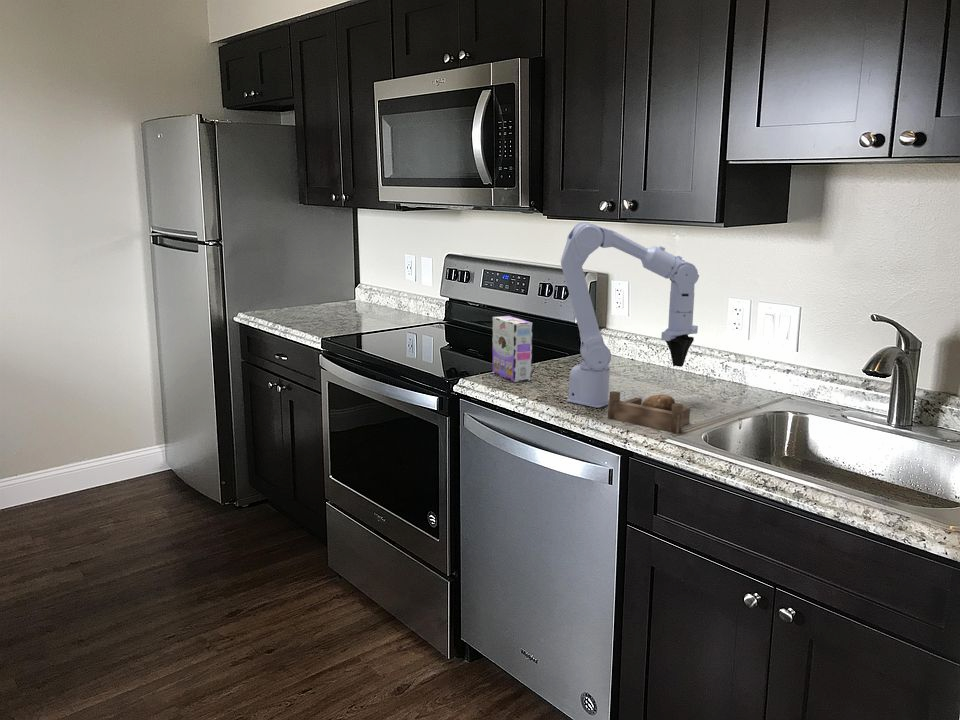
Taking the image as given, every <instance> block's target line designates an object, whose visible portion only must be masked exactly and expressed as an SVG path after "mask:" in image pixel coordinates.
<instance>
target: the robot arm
mask: <svg viewBox="0 0 960 720" xmlns="http://www.w3.org/2000/svg"><path fill="white" fill-rule="evenodd" d="M565 243H566V244H565V245H564V250H563V252H562V255H561V258H560V265H561V269H562V273H563V276H564V280H565V284H566V287H567V290H568V291H567V292H568V294H569V298H570V302H571V306H572V309H573V313H574V315H575V319H576V323H577V327H578V330H579V337H580V338H579V339H580V347H579V348H580V349H579V352H580V356H581V357H582V359H583V360H582V362H581V363H580V364H577V365H576V364H575V365H574V366H572V368H571V370H570V374H569V378H568V379H569V381H568V389H569V390H568V398H567V399H566V402H569V403H573V404H576V405H577V404H578V405H581V406H582V405H583V406H588V407H590V408H591V407H592V408H597V409H599V408H602V407H606V406H608V401H609V395H610V373H611V372H610V370H611V369H610V368H611V366H610V364H611V363H610V362H611V361H612V352H611V350H610V349H609V347H608V346H607V345H606V344H605V341H604V339H603V335H602V333H601V331H600V327H599V325H598V320H597V317H596V313H595V309H594V306H593V302H592V298H591V295H590V291H589V287H588V284H587V280H586V277H585V272H584V268H583V266H584V264H585V262H586V261H587V259H588V258H589V256H590V255H591V254H593V253H594V252H595V251H596V250H597V249H599V248H603V249H607V248H614V249H616V250H619V251H621V252H623V253H625V254H627V255H630V256H631V257H634V258H636V259H638V260H640V261H641V264H642V267H643V268H644V269H645V270H648V271H650V272H651V273H654V274H656V275H658V276H660V277H662V278H664V279H666V280H667V279H669V281H670V292H669V309H668V323H667V324H668V327H667V328H666V329H664V331H661V335H660V336H661V337H660V338H661V339H660V340H661V341H665V343H666V344H667V346H668V348H669V353H670V356H671V362H672V365H673V366H674V367H680V368H681V367H683V366H684V365H685V364H684V363H685V361H686V357H687V355H688V352H689V350H690V347H691V345H692V344H693V342H694V341H695V337H694V336H689V335H693V334H695V335H697V334H698V330H699V329H698V328H699V327H698V325H695V324H693V322H694V321H693V320H694V305H695V285H696V284H697V282H698V280H699V279H700V278H699V277H700V275H699V274H698V273H699V272H698V269H697V267H696V265H694V264H693V263H691V262H689V261H686V260H684V259H683V257H682V256H681V255H677V256H676V255H674V254H673V253H670V252H668V251H666V247H663V246H661V245H659V246H658V247H657V245H653V246H650V247H645V246H644V245H641V244H640V243H638V242H636V241H634V240H632V239H630V238H629V237H626V236H624V235H623V234H620V233H618V232H617V231H614V230H611V229H608V228H606V227H601V226H598V225H597V224H593V223H590V222H586V221H583V222H582V221H581V222H579V223H577V224H576V225H575V226H574V227H573V228H572V229H571V230H570V232H568V235H567V238H566V242H565Z"/></svg>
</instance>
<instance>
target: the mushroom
mask: <svg viewBox="0 0 960 720" xmlns="http://www.w3.org/2000/svg"><path fill="white" fill-rule="evenodd" d="M675 403H676V402H675V398H673V397H672V396H671V395H669V394H665V393H663V394H654V395H651V396H649V397H647V398H645V400H644V401H642V405H643V406H648V407H653V408H658V409H663V410H668V411H671V409H672V404H675Z"/></svg>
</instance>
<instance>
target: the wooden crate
mask: <svg viewBox="0 0 960 720" xmlns="http://www.w3.org/2000/svg"><path fill="white" fill-rule="evenodd" d="M642 399H643V398H641V397H634V398H631V399H628V400H626V401H625V400H624V401H622V400H621V392H619V391H617V390H615V391H613V390H612V391H609V401H608V405H607V418H608V419H610V420H617V421H622V422H626V423H630V424H635V425H640V426H644V427H648V428H652V429H656V430H657V429H658V430H661V431H666V432H671V433H674V434H679V433H682V432H683V426H686V425H688V424H690V418H691V417H690V415H691V414H690V413H691V407H686V406H684V405H683V404H681V403H676V402H675V404H672V409H671V411H668V410H663V409H658V408H653V407H648V406H643V405H642V403H643V400H642Z"/></svg>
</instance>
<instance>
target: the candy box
mask: <svg viewBox="0 0 960 720" xmlns="http://www.w3.org/2000/svg"><path fill="white" fill-rule="evenodd" d="M491 322H492V324H491V325H492V326H491V331H492V332H491V334H492V335H491V336H492V340H491V342H492V345H491V346H492V347H491V349H492V351H491V352H492V359H491V360H492V361H491V362H492V365H491V369H492V370H491V371H492V372H494V373H497V374H498V375H500V376H499V377H501V376H502V377H501V378H503V377H504V378H503V379H505V378H506V379H505V380H508V381H510V382H512V381H513V383H520V381H522V382H530V380H531V381H532V370H533V369H532V368H533V367H532V366H533V364H532V363H533V362H532V361H533V358H532V357H533V327H534V326H533V324H534V323H533V322H531V321H527V320H524V319H521V318H518V317H514V316H512V315H503V316H501V315H500V316H492V319H491ZM494 373H493V374H494ZM498 375H497V376H498Z"/></svg>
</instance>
